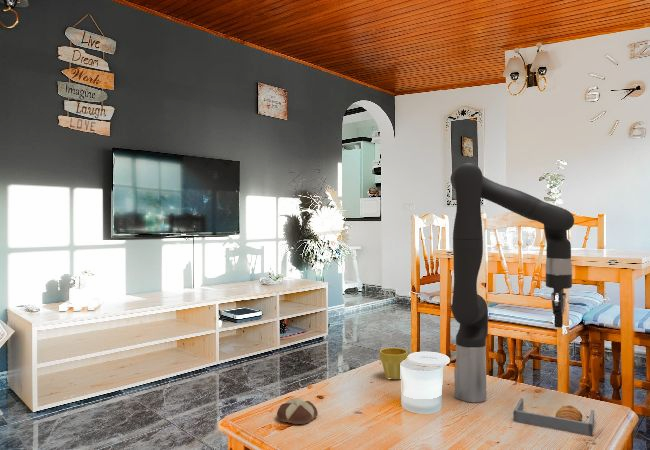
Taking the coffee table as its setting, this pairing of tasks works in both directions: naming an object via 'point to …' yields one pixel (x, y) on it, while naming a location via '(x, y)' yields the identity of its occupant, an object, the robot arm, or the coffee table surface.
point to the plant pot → (392, 361)
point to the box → (553, 421)
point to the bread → (297, 411)
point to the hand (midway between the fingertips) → (558, 326)
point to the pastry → (569, 413)
